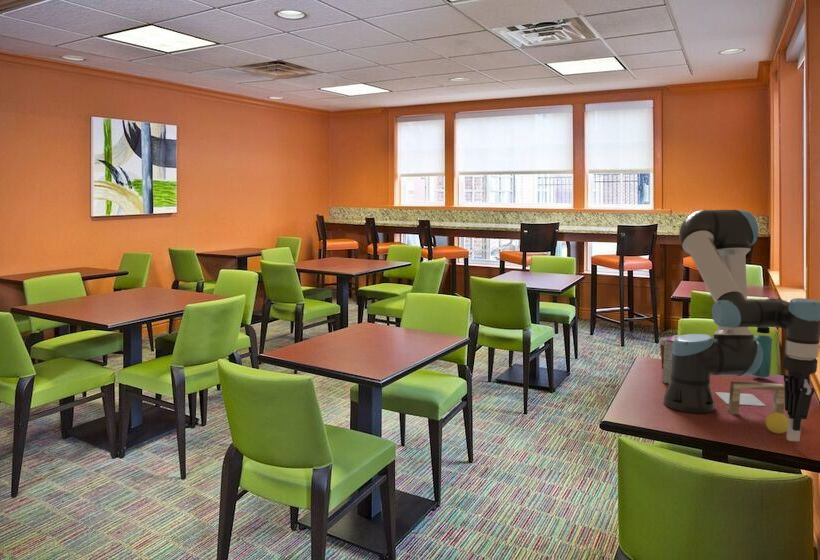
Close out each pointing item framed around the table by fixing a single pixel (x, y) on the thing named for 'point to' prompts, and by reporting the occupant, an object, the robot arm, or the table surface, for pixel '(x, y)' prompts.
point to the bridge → (736, 387)
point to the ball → (777, 423)
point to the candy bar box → (668, 358)
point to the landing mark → (741, 399)
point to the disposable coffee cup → (662, 348)
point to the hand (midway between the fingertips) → (792, 439)
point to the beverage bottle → (764, 352)
